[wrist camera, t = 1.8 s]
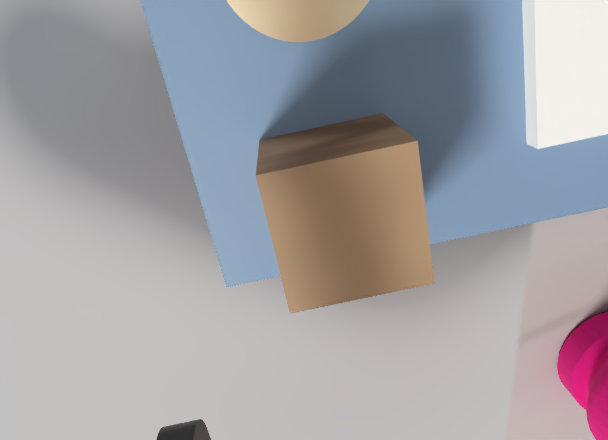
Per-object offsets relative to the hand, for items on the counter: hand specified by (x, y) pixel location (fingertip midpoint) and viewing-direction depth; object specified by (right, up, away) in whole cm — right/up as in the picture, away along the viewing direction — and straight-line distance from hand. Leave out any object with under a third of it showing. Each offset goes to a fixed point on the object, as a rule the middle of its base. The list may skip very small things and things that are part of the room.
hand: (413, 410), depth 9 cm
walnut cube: (-1, +5, +13) cm, 14 cm away
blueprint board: (+4, +11, +13) cm, 17 cm away
